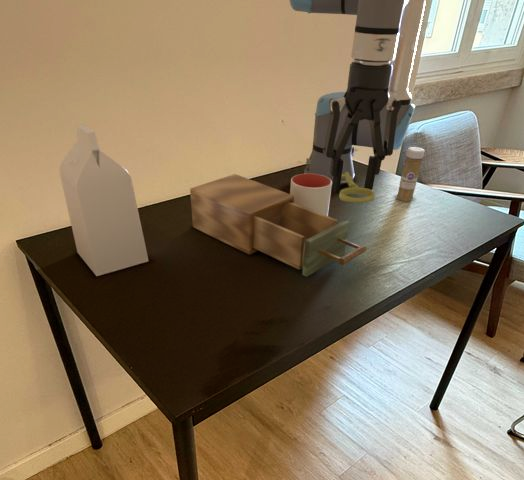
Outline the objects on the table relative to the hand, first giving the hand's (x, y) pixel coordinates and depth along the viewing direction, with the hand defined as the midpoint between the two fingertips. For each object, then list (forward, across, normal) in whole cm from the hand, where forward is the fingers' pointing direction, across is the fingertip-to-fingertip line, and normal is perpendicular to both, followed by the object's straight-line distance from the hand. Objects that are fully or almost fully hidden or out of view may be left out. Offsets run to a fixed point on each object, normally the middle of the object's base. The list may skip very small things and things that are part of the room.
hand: (351, 190), depth 95 cm
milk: (+14, -52, +3) cm, 54 cm away
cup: (+14, -4, +17) cm, 23 cm away
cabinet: (+14, -22, +12) cm, 29 cm away
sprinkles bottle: (+14, +27, +28) cm, 42 cm away
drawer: (+13, -10, -3) cm, 17 cm away
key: (+1, 0, 0) cm, 1 cm away
